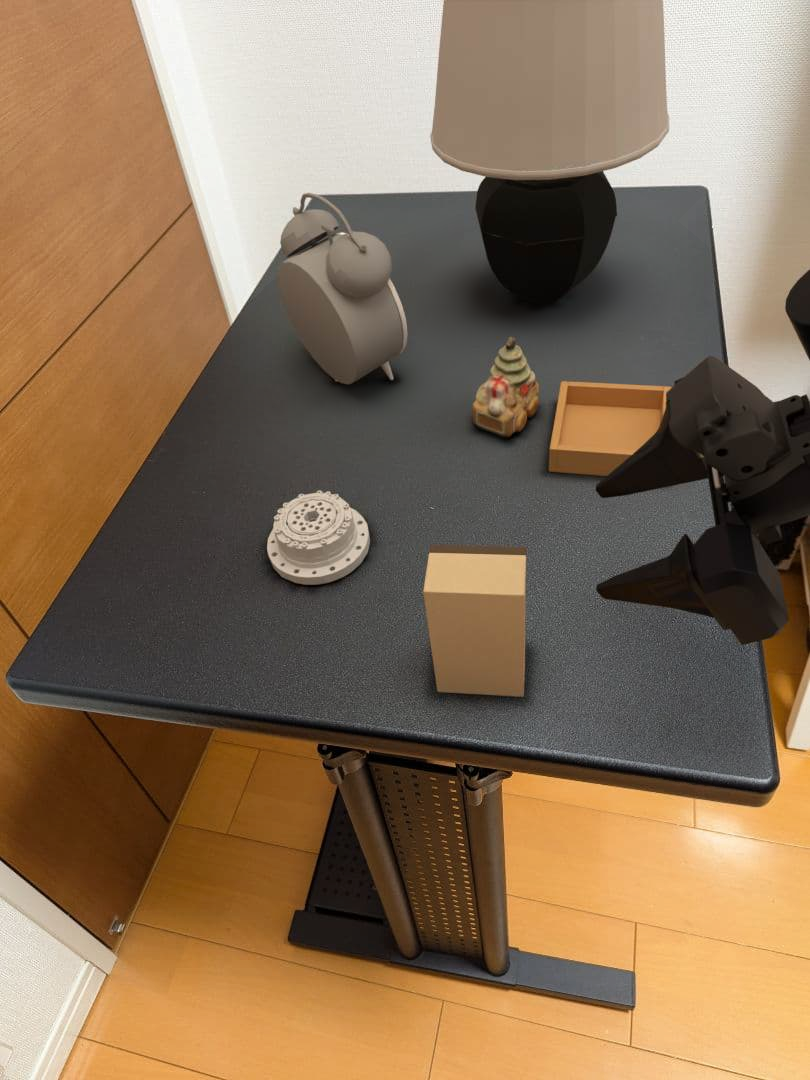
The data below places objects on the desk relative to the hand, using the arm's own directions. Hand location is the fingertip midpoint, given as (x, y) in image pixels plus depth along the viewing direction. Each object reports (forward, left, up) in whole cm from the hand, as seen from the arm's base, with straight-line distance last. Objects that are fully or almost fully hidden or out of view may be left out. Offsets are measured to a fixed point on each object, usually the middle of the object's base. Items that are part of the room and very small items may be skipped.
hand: (598, 539), depth 52 cm
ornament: (+11, -32, -16) cm, 37 cm away
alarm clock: (+31, -39, -16) cm, 52 cm away
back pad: (+8, +2, -16) cm, 18 cm away
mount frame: (0, -29, -16) cm, 33 cm away
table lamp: (+10, -59, -16) cm, 62 cm away
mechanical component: (+26, -10, -16) cm, 32 cm away
